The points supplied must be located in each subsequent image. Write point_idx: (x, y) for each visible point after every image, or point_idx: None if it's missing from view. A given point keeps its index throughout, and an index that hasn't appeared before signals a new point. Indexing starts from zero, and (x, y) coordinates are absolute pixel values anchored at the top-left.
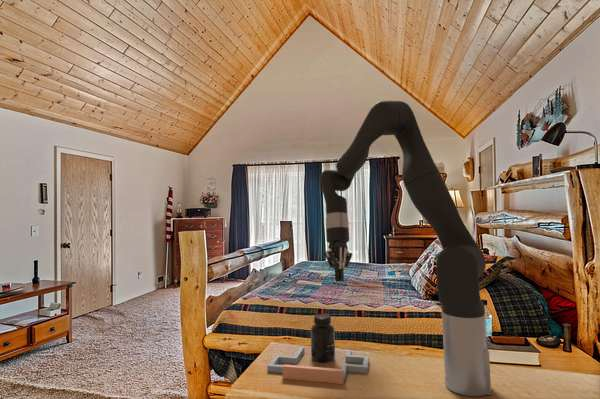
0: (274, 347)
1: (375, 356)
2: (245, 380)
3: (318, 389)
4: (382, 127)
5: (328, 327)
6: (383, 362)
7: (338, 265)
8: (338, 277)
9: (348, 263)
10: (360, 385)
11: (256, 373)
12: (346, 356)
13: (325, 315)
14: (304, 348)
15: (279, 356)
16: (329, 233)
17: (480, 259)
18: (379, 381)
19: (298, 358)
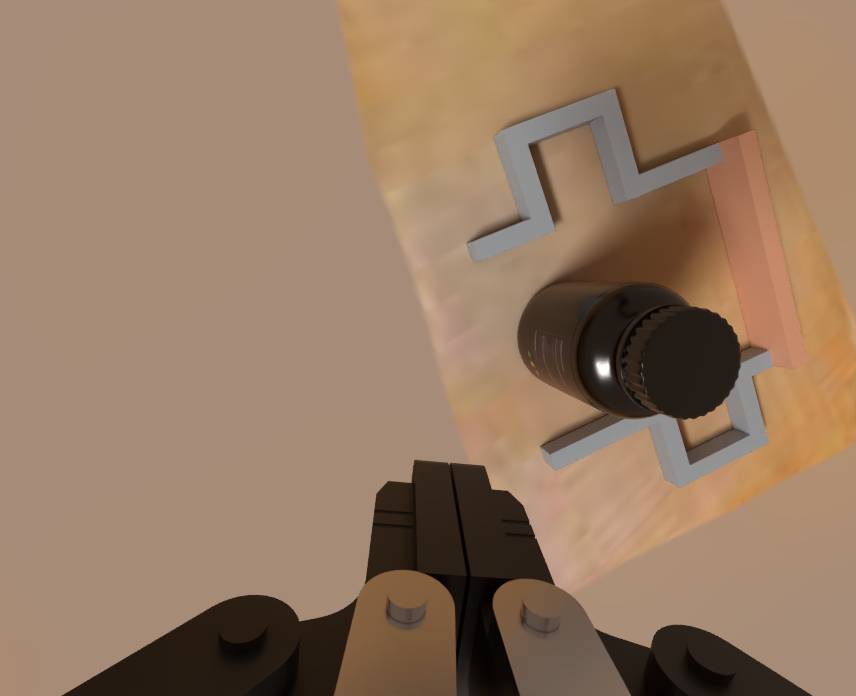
0: (565, 582)
1: (420, 134)
2: (825, 447)
3: (779, 202)
4: None
5: (670, 303)
6: (465, 72)
7: (600, 675)
8: (522, 511)
9: (99, 690)
10: (696, 80)
11: (775, 456)
12: (553, 225)
13: (667, 358)
14: (549, 450)
15: (686, 466)
16: None
17: None
18: (638, 23)
19: None
